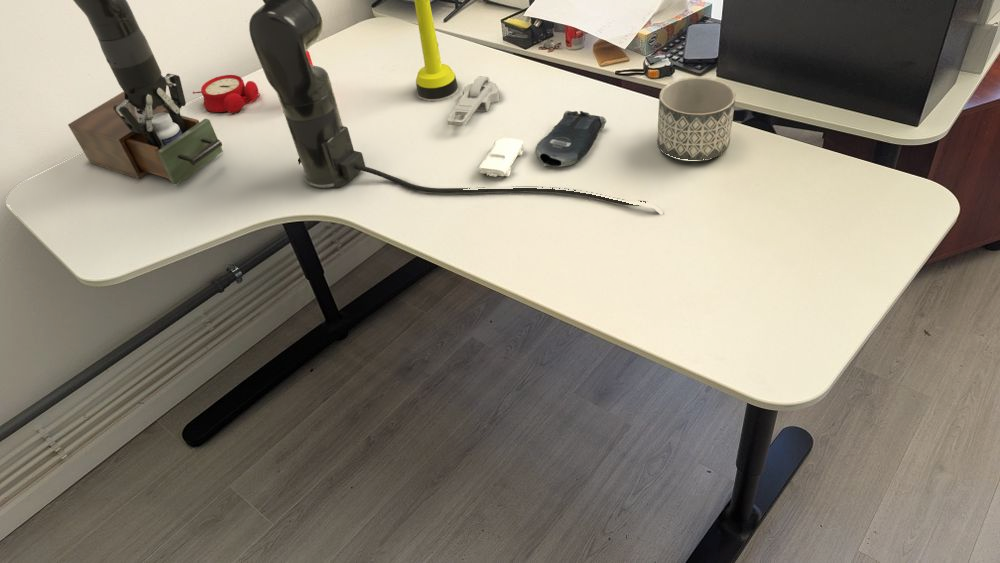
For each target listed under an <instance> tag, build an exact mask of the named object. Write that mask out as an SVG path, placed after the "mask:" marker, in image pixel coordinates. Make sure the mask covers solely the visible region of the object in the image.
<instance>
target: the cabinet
mask: <svg viewBox="0 0 1000 563" xmlns="http://www.w3.org/2000/svg"><path fill="white" fill-rule="evenodd" d="M124 100H125V98H124V91H122V92H120V93H119V94H117V95H115V96H113V97H112V98H110V99H109V100H107V101H105V102H103V103H102V104H100V105H98V106H96V107H95V108H93V109H91V110H90V111H88V112H86V113H85V114H83V115H82V116H80V117H78V118H77V119H75V120H73V121H71V122H69V123H68V124H67V126H68V128H69V129H70V131H71V133H72V134H73V136H74V138H75V139H76V141H77V143H78V145H79V147H80V148H81V150H82V152H83V153H84V155H85V156H86V158H87V160H88V161H89V163H90V164H93V165H95V166H99V167H101V168H104V169H108V170H110V171H114V172H116V173H120V174H123V175H127V176H129V177H133V178H136V179H138V180H140V179H143V178H144V177H145V176H146V175H149V174H150V173H149V172H146V171H143V170H139V169H138V167H137V165H136V163H135V161H134V159H133V157H132V156H131V154H130V152H129V150H128V148H127V146H126V144H125V142H124V141H125V140H126V139H128V138H129V137H131V136H132V135H134V134H135V133H137V132H133V131H131V130H130V129H129V128H128V127H127V126H126V124H125V123H124V122H123V121H122V120H121V118H120V117H119V116H118V115H117V113H116V112H115V111H114V109H113V107H114V105H120V104H121V103H122V102H123V101H124ZM131 110H132V113H131V114H132V115H133V116H134V117H135V119H136V120H137V121H138V118H137V117H136V115H135V107H134V106H133V105H131ZM143 112H144V113H145V111H143ZM168 112H169V111H167V110H166V109H165V108H164V107H163V106H162V105H161V106H158V107H156V108H155V110H153V115H155V114H158V113H168Z"/></svg>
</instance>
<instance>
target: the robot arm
mask: <svg viewBox="0 0 1000 563" xmlns="http://www.w3.org/2000/svg"><path fill="white" fill-rule="evenodd" d="M72 1H73V2H74V3H75V4H76V6H77V7H78V8H79V9H80V10H81V12H82V13H83V14H84V15H85V16H86V18H87V20H88V22H89V24H90V26H91V28H92V31H93V32H94V34H95V37H96V38H97V40H98V43H99V46H100V48H101V51H102V53H103V55H104V57H105V60H106V62H107V64H108V65H109V67H110V69H111V72H112V73H113V75H114V77H115V79H116V82H117V83H118V85H119V87H120V88H121V90H122V92H124V98H125V100H124V101H123V102H122V103H121V104H120V105H114V107H113V109H114V111H115V112H116V113H117V115H118V116H119V117H120V118H121V120H122V121H123V122H124V123H125V124H126V126H127V127H128V128H129V129H130V130H131V131H133V132H137V133H143V134H144V136H145V138H146V140H147V142H148V143H149V144H150V145H152V146H155V147H158V148H159V147H160V146H162V144H161V142H160V140H159V138H158V136H157V134H156V132H155V130H154V129H153V126H152V119H153V110H155V108H156V107H158V106H161V105H162V106H163V107H164V108H165V109H166V110H167V111H169V113H168V114H169V115H170V117H171V119H172V122H174V123H176V124H177V125H178V126H179V128H180V130H181V132H183V131H184V130H185V128H184V127H185V123H184V121H183V119H182V117H181V116H182V115H181V108H182V107H185V106H186V104H187V101H186V97H185V93H184V89H183V85H182V81H181V77H180V76H179V75H178V74H174V73H166V75H165V76H163V75H162V71H161V68H160V66H159V64H158V62H157V60H156V57H155V55H154V53H153V51H152V49H151V46H150V44H149V41H148V39H147V38H146V36H145V35H144V33H143V31H142V30H141V28H140V26H139V24H138V22H137V19H136V16H135V14H134V13H133V10H132V8H131V6H130V4H129V2H128V1H127V0H72ZM262 2H263V5H262V6H260V7H259V8H258V9H257V10H256V11H255V12H254V13H253V14H252V15H251V17H250V19H249V23H248V32H249V36H250V40H251V43H252V46H253V48H254V52H255V54H256V56H257V59H258V61H259V64H260V66H261V68H262V70H263V73H264V75H265V78H266V80H267V82H268V84H269V85H270V86H271V88H272V89H273V90H274V91H275V92H276V95H277V98H278V99H279V102H280V106H281V109H282V112H283V114H284V118H285V121H286V123H287V126H288V129H289V132H290V135H291V138H292V141H293V144H294V146H295V149H296V152H297V155H298V158H297V163H298V165H299V166H300V165H301V166H302V169H303V172H304V175H305V176H304V177H305V180H306V182H307V184H308V185H310V186H311V187H314V188H318V189H330V188H338V189H339V188H341V187H343V186H344V185H345V184H346V183H347V182H349V181H352V180H353V178H355V177H356V176H357V175H359V173H360V172H366V173H368V174H372V175H375V176H377V177H380V178H382V179H385V180H387V181H390V182H393V183H396V184H398V185H400V186H402V187H405V188H408V189H410V190H414V191H417V192H422V193H430V194H479V193H480V194H482V193H483V194H485V193H516V192H517V193H520V192H521V193H523V192H529V193H533V192H534V193H553V194H564V195H573V196H579V197H585V198H591V199H595V200H599V201H604V202H608V203H612V204H616V205H621V206H627V207H628V206H629V207H630V206H632V207H640V206H639V205H633V204H629V203H626V202H622V201H618V200H613V199H609V198H605V197H601V196H596V195H592V194H586V193H580V192H574V191H576V190H577V189H573V190H574V191H566V190H555V189H553V188H554V186H553V187H552V186H549V187H550V188H551V187H552V189H537V188H513V189H478V190H463V189H468V188H469V189H470V188H471V187H429V186H428V187H427V186H421V185H417V184H413V183H410V182H408V181H407V180H403V179H401V178H398V177H395V176H394V175H391V174H389V173H385V172H383V171H380V170H378V169H375V168H371V167H370V166H366V164H365V163H366V162H365V159H364V155H363V153H362V152H361V151H358V150H355V148H354V145H353V141H352V138H351V135H350V131H349V128H348V127H347V126H346V125H344V124H343V120H342V117H341V114H340V111H339V108H338V107H339V106H338V103H337V100H336V96H335V93H334V89H333V86H332V83H331V82H332V81H331V78H330V76H329V74H328V71H326V69H325V68H323V67H320V66H317V65H313V66H312V65H310V63H309V60H308V57H307V54H306V51H309V49H310V47H312V46H313V45H314V44H315V43H316V42H317V41H318V40H319V39H320V38H321V35H322V33H323V27H324V25H323V20H322V19H323V18H322V15H321V12H320V10H319V9H318V7H317V5H316V4H315V2H314V1H313V0H262ZM167 87H168V91H169V94H167ZM169 95H170V96H169ZM131 105H133V106H134V107H135V115H136V117H137V118H138V121H137V120H136V119H135V117H134V116H133V115H132V114H131V113H132V110H131ZM143 111H145V113H144V112H143ZM541 187H542V188H543V187H544V186H541ZM483 188H485V187H483ZM558 188H559V189H560V188H561V187H558ZM564 189H566V188H564ZM567 189H568V190H569V189H570V188H567ZM590 192H591V191H590ZM591 193H593V192H591ZM599 194H600V195H602V194H601V193H599ZM616 198H617V197H616ZM617 199H619V198H617ZM622 200H624V198H623V199H622ZM639 201H640V202H642V201H643V202H645V203H646V200H639Z"/></svg>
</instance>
